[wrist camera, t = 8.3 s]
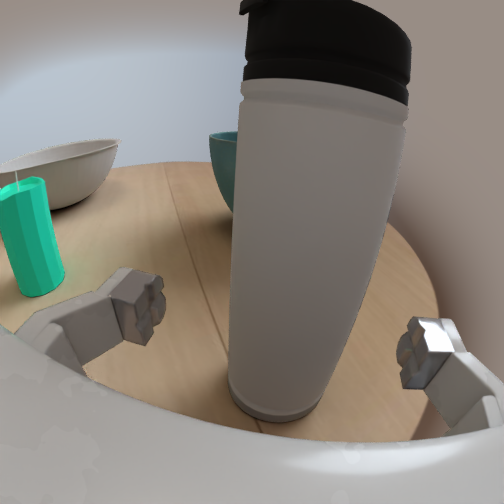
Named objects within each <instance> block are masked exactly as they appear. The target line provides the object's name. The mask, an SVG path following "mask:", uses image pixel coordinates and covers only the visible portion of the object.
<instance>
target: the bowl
mask: <svg viewBox="0 0 504 504" xmlns="http://www.w3.org/2000/svg"><path fill="white" fill-rule="evenodd" d="M119 143H121V140H120V139H94V140H85V141H78V142H72V143H66V144H61V145H57V146H52V147H48V148H45V149H41V150H38V151H34V152H31V153H28V154H25V155H22V156H19V157H17V158H14V159H12V160H10V161H7V162H5V163H3V164H1V165H0V188H1V189H2V188H3V187H5V186H7V185H8V184H11V183H15V182H16V175H15V171H16V173H17V180H18V181H21V180H23V179H26V178H29V177H31V176H34V177H39V178H42V179H43V180H44V181H45V185H46V192H47V198H48V204H49V210H55V209H59V208H63V207H66V206H69V205H72V204H74V203H77V202H79V201H81V200H83V199H84V198H86V197H88V196H89V195H90V194H92V193H93V192H94V191H95V190H96V189H97V188H98V187H99V186H100V185H101V184H102V183H103V181H104V180H105V178H106V177H107V175H108V173H109V171H110V169H111V167H112V165H113V162H114V159H115V156H116V152H117V147H118V144H119Z"/></svg>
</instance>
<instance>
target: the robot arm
mask: <svg viewBox="0 0 504 504" xmlns="http://www.w3.org/2000/svg"><path fill="white" fill-rule="evenodd" d="M163 287H164V284H163V278H162V277H161V276H160V275H156V274H152V273H148V272H143V271H139V270H134V269H131V268H126V267H120V268H119V269H118V270H117V271H115V272H114V273H113V274H112V275H111V276H110V277H109V278H108V279H107V280H106V281H105V282H104V283H103V284H102V285H101V286H100V287H99V288H98V289H97V290H96V291H95V292H93V291H90V292H87V293H85V294H82V295H79V296H77V297H74V298H71V299H69V300H66V301H63V302H60V303H58V304H55V305H52V306H50V307H47V308H44V309H42V310H39V311H37V312H35V313H34V314H33V315H32V316H31V317H30V318H29V319H28V320H27V321H26V322H25V323H24V324H23V325H22V326H21V327H20V328H19V329H18V330H17V331H16V332H15V333H14V334H13V333H11V332H10V331H9V330H7V329H6V328H4V327H3V326H2V325H0V504H504V384H503V383H502V382H501V381H500V380H499V379H498V378H497V377H496V376H495V375H494V374H493V373H492V372H491V371H490V370H488V369H487V368H486V367H485V366H484V365H483V364H482V363H481V362H480V361H479V360H478V359H477V358H475V357H474V356H473V355H472V354H471V353H467V351H466V349H465V347H464V345H463V342H462V340H461V338H460V335H459V333H458V331H457V329H456V327H455V325H454V323H453V321H452V320H450V319H442V318H438V319H435V318H424V317H414V316H413V317H412V318H411V319H410V321H409V323H408V325H407V328H408V332H406V333H405V334H403V335H402V336H401V338H400V340H399V342H398V346H397V350H396V357H397V363H398V364H399V365H400V366H401V367H402V370H401V372H400V377H401V382H402V388H403V389H418V390H424V392H425V393H426V395H427V396H428V398H429V399H430V400H431V402H432V403H433V405H434V406H435V407H436V409H437V410H438V412H439V413H440V415H441V416H442V417H443V419H444V420H445V422H446V423H447V425H448V426H449V427H450V429H449V430H448V431H447V432H446V433H445V434H443V435H442V436H441V437H439V438H432V439H424V440H412V441H398V442H332V441H318V440H306V439H297V438H289V437H281V436H274V435H268V434H262V433H256V432H251V431H245V430H240V429H236V428H231V427H227V426H222V425H218V424H214V423H210V422H206V421H202V420H199V419H195V418H192V417H188V416H185V415H181V414H178V413H175V412H172V411H169V410H166V409H163V408H160V407H157V406H154V405H151V404H149V403H146V402H143V401H141V400H138V399H135V398H133V397H130V396H128V395H125V394H123V393H121V392H118V391H116V390H114V389H111V388H109V387H107V386H105V385H102V384H100V383H98V382H96V381H94V380H92V379H90V378H88V377H87V375H86V373H85V371H84V369H83V367H82V366H83V365H84V364H86V363H88V362H89V361H91V360H93V359H94V358H96V357H98V356H99V355H101V354H103V353H104V352H106V351H108V350H109V349H111V348H113V347H114V346H116V345H118V344H119V343H121V342H123V340H126V341H129V342H132V343H136V344H139V345H142V346H146V344H147V343H148V341H149V340H150V338H151V337H152V335H153V334H154V330H153V327H154V326H156V325H158V324H160V323H161V321H162V319H163V318H164V314H165V311H166V298H165V296H164V295H163V293H162V292H161V290H162V289H163Z"/></svg>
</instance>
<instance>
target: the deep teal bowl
mask: <svg viewBox="0 0 504 504" xmlns="http://www.w3.org/2000/svg"><path fill="white" fill-rule="evenodd" d="M237 136H238V131H237V132H219V133H214V134H211V135H210V136H209V143H210V144H209V146H210V154H211V161H212V167H213V171H214V175H215V178H216V181H217V184H218V187H219V189H220V192H221V194H222V196H223V198H224V200H225V202H226V204H227V205H228V207H229V208H230V210H231V211H232V213H233V207H234V188H235V169H236V152H237Z"/></svg>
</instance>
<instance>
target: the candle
mask: <svg viewBox="0 0 504 504" xmlns="http://www.w3.org/2000/svg"><path fill="white" fill-rule="evenodd" d="M15 175H16V182H15V183H11V184H8V185H7V186H5V187H3V188H2V189H0V231H1V234H2V238H3V241H4V245H5V248H6V251H7V255H8V258H9V261H10V264H11V267H12V269H13V272H14V275H15V278H16V280H17V283H18V286H19V288H20V290H21V293H22V294H23V295H26V296H29V297H35V296H41V295H44V294H46V293H48V292H50V291H52V290H54V289H55V288H56V287H57V286H58V285H59V284H60V283H61V282H62V281H63V278H64V274H65V272H64V268H63V265H62V261H61V258H60V254H59V250H58V246H57V242H56V238H55V234H54V229H53V225H52V220H51V215H50V210H49V204H48V198H47V192H46V185H45V181H44V180H43V179H42V178H39V177H34V176H31V177H29V178H26V179H23V180H21V181H18V180H17V173H16V171H15Z"/></svg>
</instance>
